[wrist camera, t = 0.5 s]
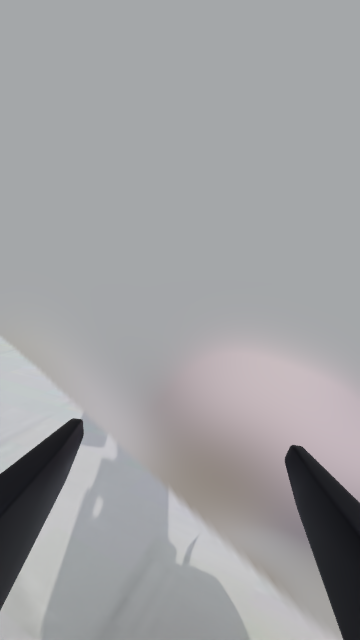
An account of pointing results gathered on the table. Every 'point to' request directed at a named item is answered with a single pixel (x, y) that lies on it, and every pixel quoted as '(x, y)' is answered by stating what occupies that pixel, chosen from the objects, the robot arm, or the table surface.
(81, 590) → the table surface
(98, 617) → the table surface
